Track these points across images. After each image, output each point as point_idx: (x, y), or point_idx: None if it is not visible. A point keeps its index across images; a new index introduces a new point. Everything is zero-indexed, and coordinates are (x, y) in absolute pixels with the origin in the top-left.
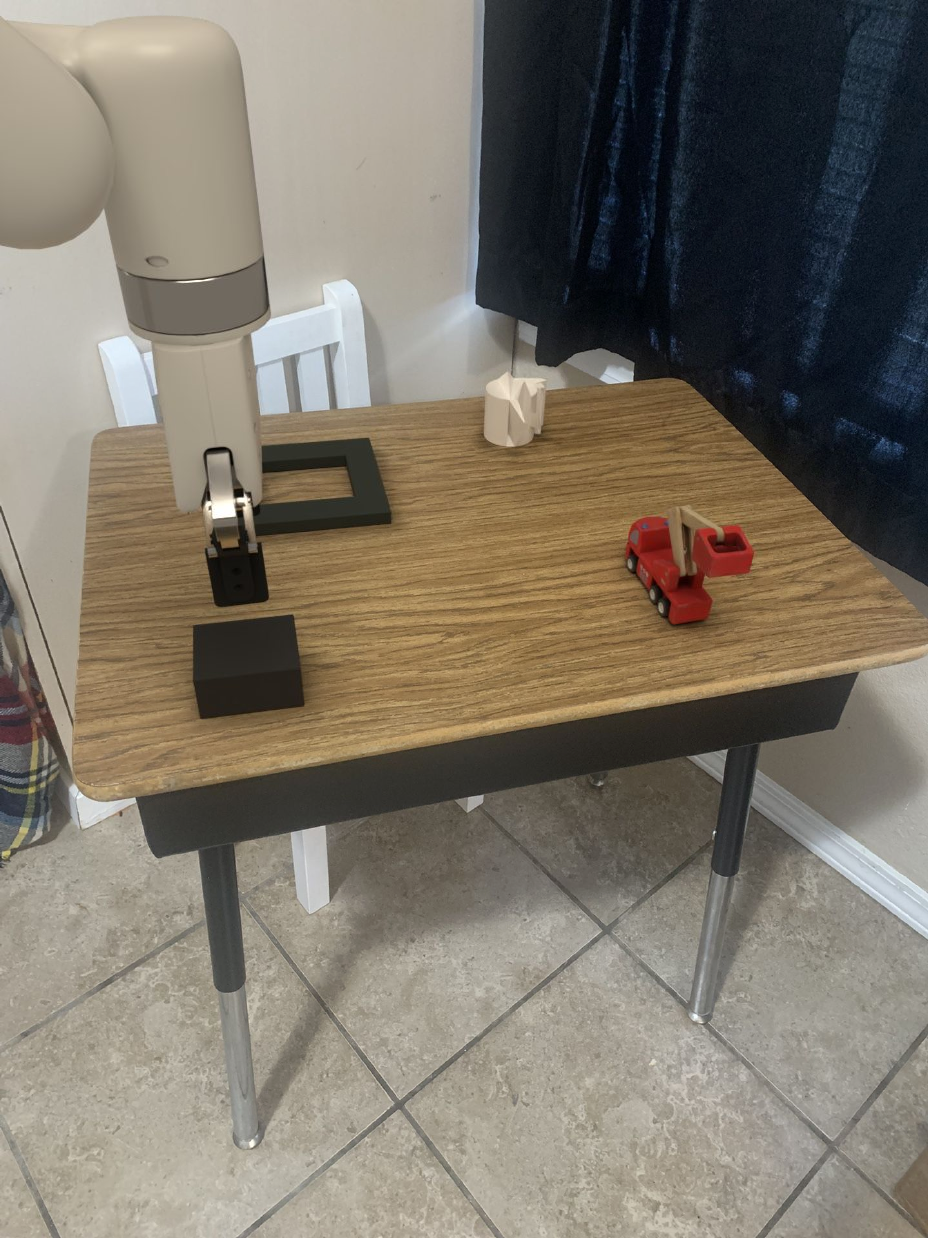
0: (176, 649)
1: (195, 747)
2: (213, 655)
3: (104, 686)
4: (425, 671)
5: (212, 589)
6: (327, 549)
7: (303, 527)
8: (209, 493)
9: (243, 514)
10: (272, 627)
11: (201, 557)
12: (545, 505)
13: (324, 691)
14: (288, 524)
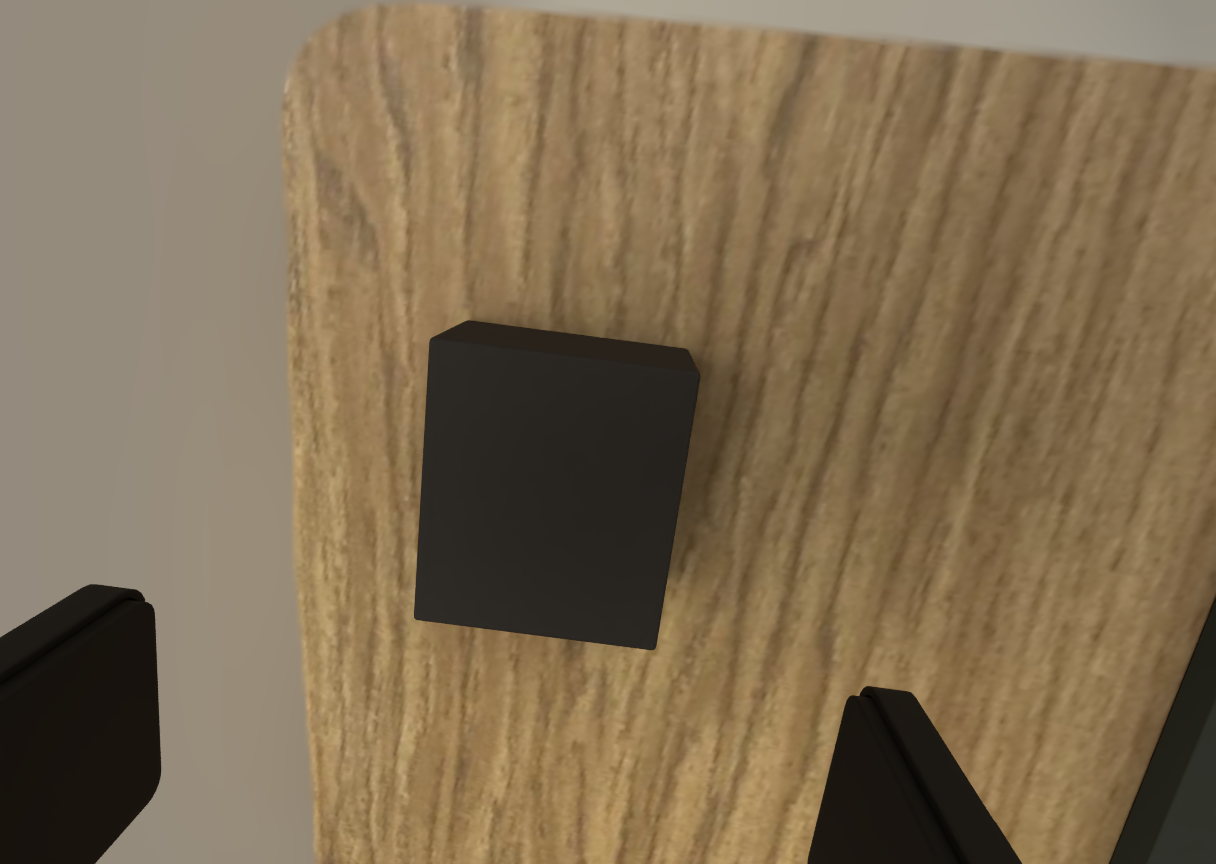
0: (769, 294)
1: (370, 294)
2: (529, 411)
3: (675, 75)
4: (495, 811)
5: (19, 630)
6: (1053, 741)
7: (1181, 716)
8: (930, 803)
9: (824, 823)
10: (609, 588)
11: (1190, 420)
12: None
13: None
14: (1207, 689)
